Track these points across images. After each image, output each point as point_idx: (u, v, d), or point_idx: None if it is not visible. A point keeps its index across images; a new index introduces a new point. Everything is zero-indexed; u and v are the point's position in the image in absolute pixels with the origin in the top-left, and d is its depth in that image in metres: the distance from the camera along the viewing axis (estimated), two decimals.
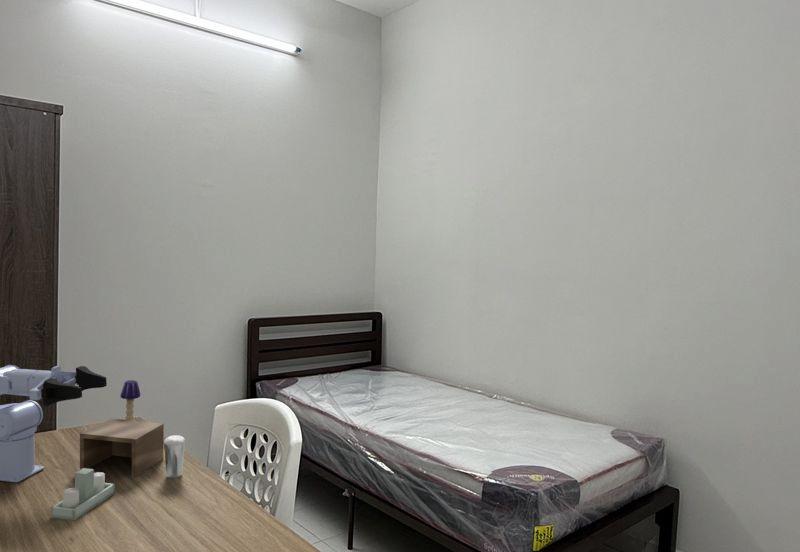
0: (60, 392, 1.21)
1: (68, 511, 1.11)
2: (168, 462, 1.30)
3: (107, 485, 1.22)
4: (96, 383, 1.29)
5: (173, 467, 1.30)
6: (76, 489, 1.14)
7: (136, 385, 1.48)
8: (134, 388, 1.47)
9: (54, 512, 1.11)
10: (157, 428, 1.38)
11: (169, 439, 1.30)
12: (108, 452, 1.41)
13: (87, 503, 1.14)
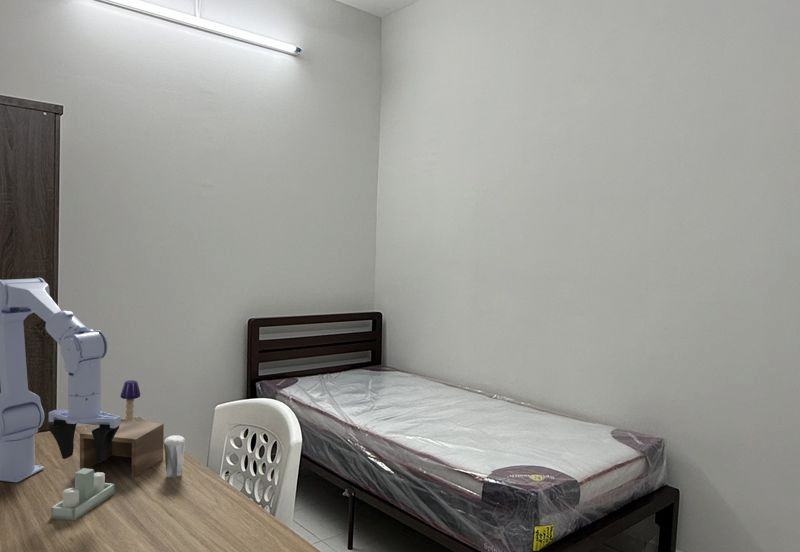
0: None
1: (68, 511, 1.11)
2: (168, 462, 1.30)
3: (107, 485, 1.22)
4: None
5: (173, 467, 1.30)
6: (76, 489, 1.14)
7: (136, 385, 1.48)
8: (134, 388, 1.47)
9: (54, 512, 1.11)
10: (157, 428, 1.38)
11: (169, 439, 1.30)
12: (108, 452, 1.41)
13: (87, 503, 1.14)
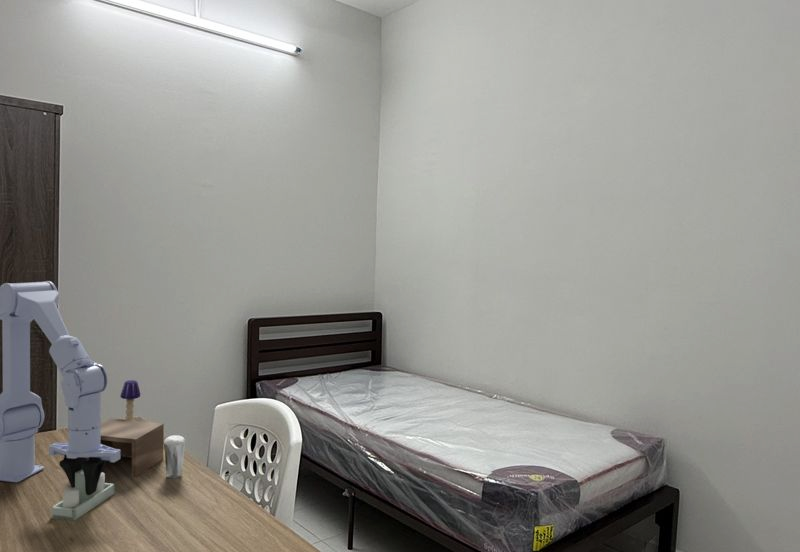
0: None
1: (68, 511, 1.11)
2: (168, 462, 1.30)
3: (107, 485, 1.22)
4: None
5: (173, 467, 1.30)
6: (76, 488, 1.14)
7: (136, 385, 1.48)
8: (134, 388, 1.47)
9: (54, 512, 1.11)
10: (157, 428, 1.38)
11: (169, 439, 1.30)
12: None
13: (87, 503, 1.14)
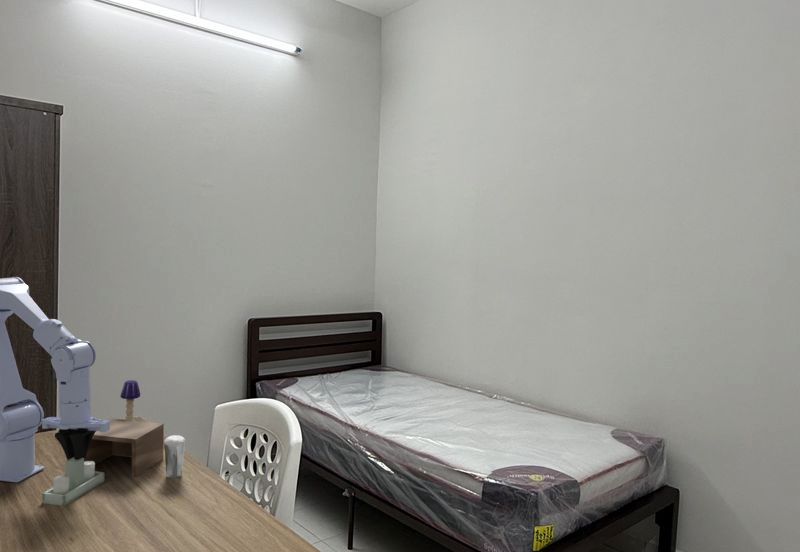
0: None
1: (58, 497, 1.16)
2: (168, 462, 1.30)
3: (97, 473, 1.28)
4: None
5: (173, 467, 1.30)
6: (67, 476, 1.19)
7: (136, 385, 1.48)
8: (134, 388, 1.47)
9: (45, 498, 1.17)
10: (157, 428, 1.38)
11: (169, 439, 1.30)
12: (108, 452, 1.41)
13: (77, 490, 1.20)
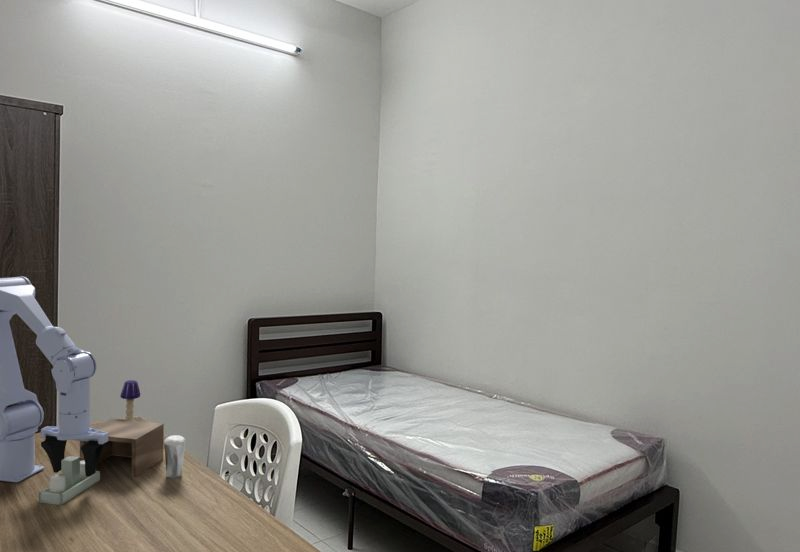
0: None
1: (55, 496, 1.16)
2: (168, 462, 1.30)
3: None
4: None
5: (173, 467, 1.30)
6: (63, 475, 1.19)
7: (136, 385, 1.48)
8: (133, 388, 1.47)
9: (41, 497, 1.17)
10: (157, 428, 1.38)
11: (169, 439, 1.30)
12: (108, 452, 1.41)
13: (73, 489, 1.20)
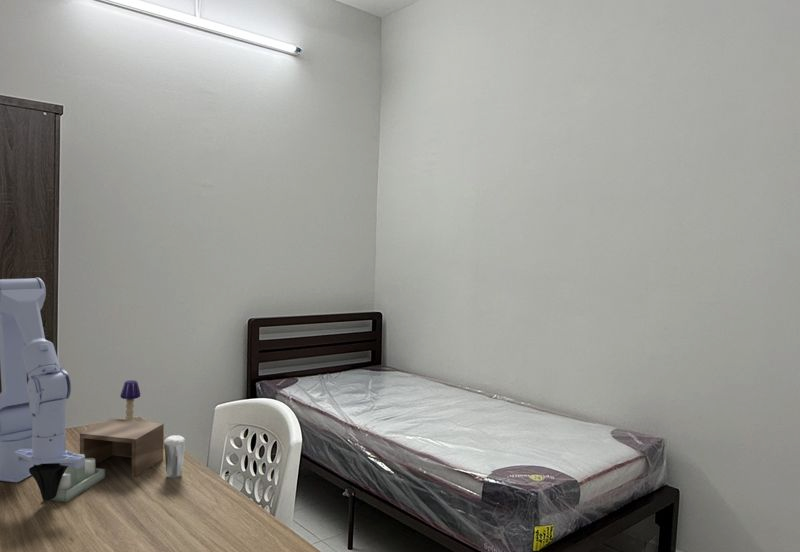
0: None
1: (60, 493, 1.18)
2: (168, 462, 1.30)
3: (98, 470, 1.29)
4: None
5: (173, 467, 1.30)
6: (68, 472, 1.21)
7: (136, 385, 1.48)
8: (134, 388, 1.47)
9: None
10: (157, 428, 1.38)
11: (169, 439, 1.30)
12: (108, 452, 1.41)
13: (78, 486, 1.21)
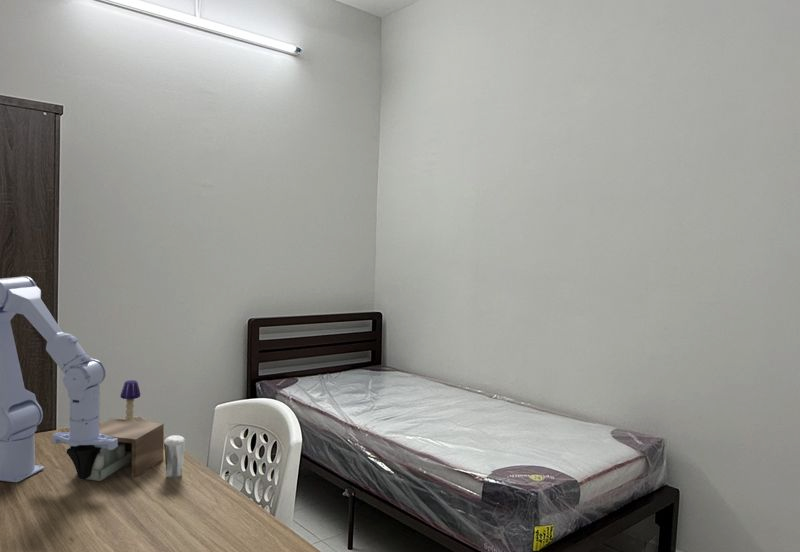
0: None
1: (95, 473, 1.28)
2: (168, 462, 1.30)
3: (127, 453, 1.39)
4: None
5: (173, 467, 1.30)
6: (101, 454, 1.31)
7: (136, 385, 1.48)
8: (134, 388, 1.47)
9: None
10: (157, 428, 1.38)
11: (169, 439, 1.30)
12: None
13: (111, 467, 1.31)
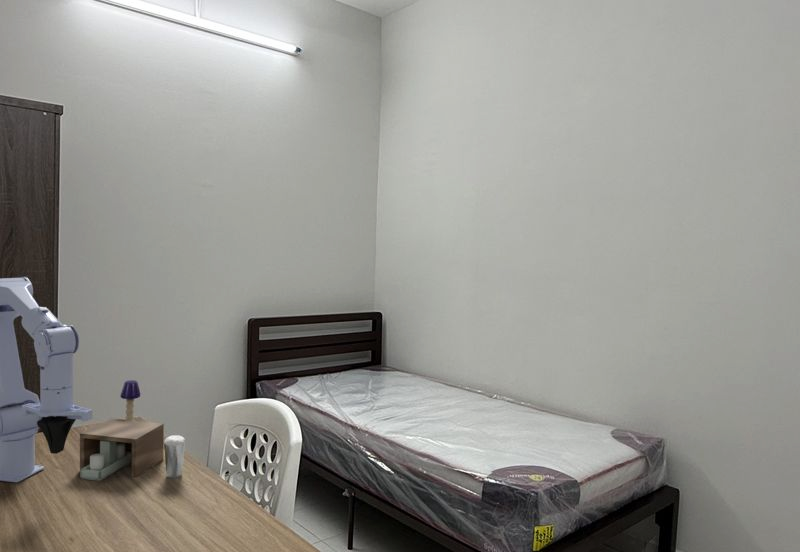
0: None
1: (95, 473, 1.28)
2: (168, 462, 1.30)
3: (127, 453, 1.39)
4: None
5: (173, 467, 1.30)
6: (101, 454, 1.31)
7: (136, 385, 1.48)
8: (134, 388, 1.47)
9: (83, 474, 1.28)
10: (157, 428, 1.38)
11: (169, 439, 1.30)
12: None
13: (111, 467, 1.31)
